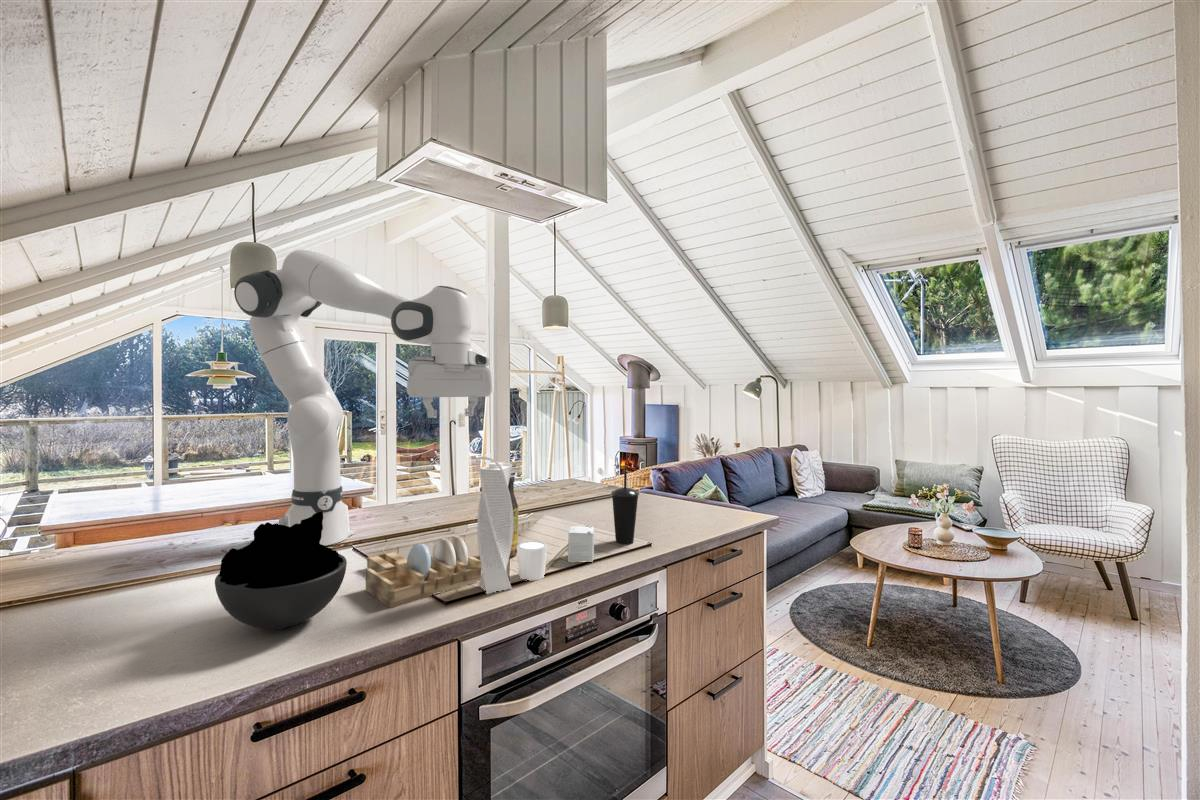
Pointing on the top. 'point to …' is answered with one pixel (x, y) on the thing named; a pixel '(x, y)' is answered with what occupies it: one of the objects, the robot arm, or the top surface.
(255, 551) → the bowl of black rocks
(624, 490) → the drinking cup
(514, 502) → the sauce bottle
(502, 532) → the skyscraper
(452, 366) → the robot arm
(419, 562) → the blue plate
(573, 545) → the skincare box
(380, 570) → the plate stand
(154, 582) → the top surface
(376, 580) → the dish rack
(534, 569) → the white cylinder
